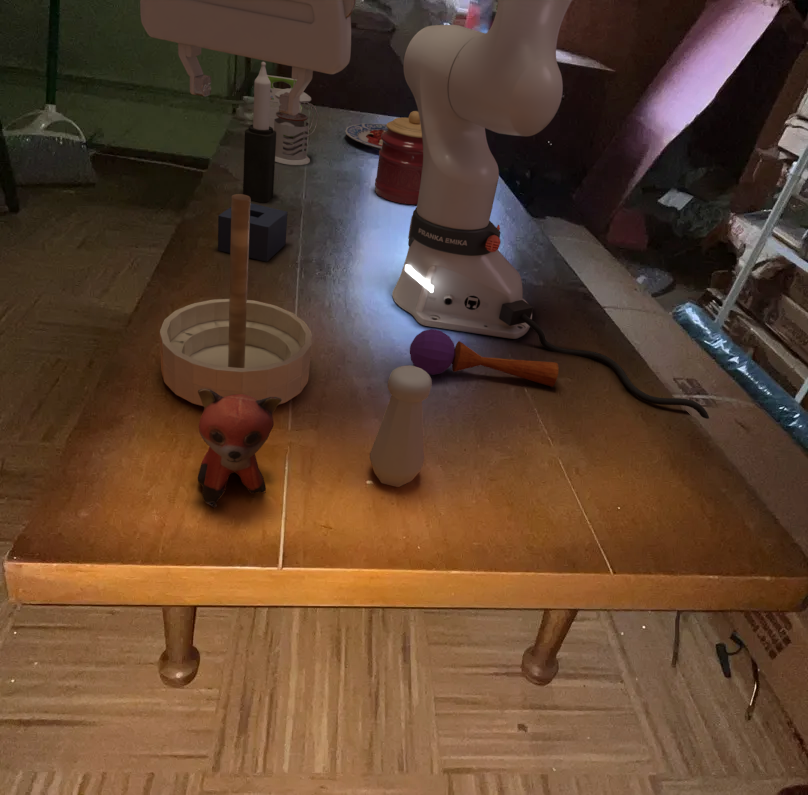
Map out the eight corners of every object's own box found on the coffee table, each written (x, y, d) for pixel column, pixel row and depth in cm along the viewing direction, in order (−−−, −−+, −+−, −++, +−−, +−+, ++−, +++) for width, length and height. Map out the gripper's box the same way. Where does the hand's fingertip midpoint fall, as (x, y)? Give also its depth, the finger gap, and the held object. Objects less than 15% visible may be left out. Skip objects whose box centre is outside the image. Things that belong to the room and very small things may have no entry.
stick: (247, 368, 91) (253, 196, 79) (240, 376, 89) (246, 201, 77) (232, 365, 91) (236, 192, 79) (225, 372, 89) (228, 197, 78)
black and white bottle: (265, 203, 142) (272, 66, 129) (240, 198, 143) (244, 60, 129) (274, 196, 147) (281, 62, 133) (250, 190, 147) (255, 57, 134)
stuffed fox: (272, 443, 80) (278, 349, 74) (276, 514, 71) (283, 414, 64) (200, 443, 78) (200, 346, 72) (195, 515, 69) (195, 412, 63)
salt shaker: (419, 460, 82) (439, 361, 74) (421, 494, 77) (443, 391, 70) (367, 455, 81) (382, 354, 74) (366, 489, 76) (383, 385, 69)
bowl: (326, 358, 97) (330, 318, 94) (277, 430, 82) (280, 386, 79) (202, 327, 99) (202, 287, 96) (133, 392, 84) (130, 347, 81)
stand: (285, 244, 127) (287, 211, 124) (266, 262, 120) (268, 227, 116) (239, 233, 128) (240, 200, 125) (217, 250, 121) (218, 215, 117)
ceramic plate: (334, 128, 199) (335, 117, 198) (422, 135, 208) (424, 124, 206) (358, 157, 179) (359, 144, 178) (454, 163, 188) (456, 151, 186)
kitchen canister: (441, 206, 157) (457, 121, 148) (385, 205, 152) (398, 117, 143) (418, 185, 167) (431, 105, 157) (365, 184, 162) (375, 101, 152)
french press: (259, 153, 169) (264, 35, 156) (300, 150, 177) (308, 37, 163) (283, 166, 164) (290, 45, 150) (324, 162, 171) (335, 46, 158)
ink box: (301, 133, 189) (305, 76, 182) (299, 139, 185) (304, 80, 177) (260, 128, 188) (263, 70, 180) (258, 133, 183) (261, 74, 176)
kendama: (565, 373, 95) (415, 345, 92) (548, 405, 99) (405, 379, 96) (558, 344, 99) (416, 316, 96) (543, 375, 103) (405, 349, 100)
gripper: (368, -36, 67) (352, 119, 75) (163, -75, 69) (167, 80, 77) (348, -36, 62) (333, 131, 69) (127, -78, 64) (135, 89, 72)
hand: (244, 104), depth 73 cm, fingers open, 8 cm apart
